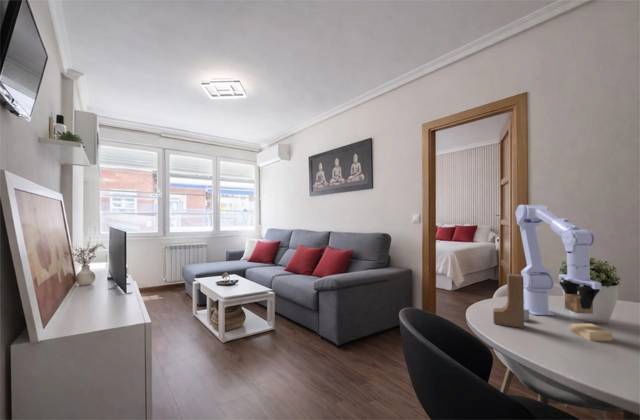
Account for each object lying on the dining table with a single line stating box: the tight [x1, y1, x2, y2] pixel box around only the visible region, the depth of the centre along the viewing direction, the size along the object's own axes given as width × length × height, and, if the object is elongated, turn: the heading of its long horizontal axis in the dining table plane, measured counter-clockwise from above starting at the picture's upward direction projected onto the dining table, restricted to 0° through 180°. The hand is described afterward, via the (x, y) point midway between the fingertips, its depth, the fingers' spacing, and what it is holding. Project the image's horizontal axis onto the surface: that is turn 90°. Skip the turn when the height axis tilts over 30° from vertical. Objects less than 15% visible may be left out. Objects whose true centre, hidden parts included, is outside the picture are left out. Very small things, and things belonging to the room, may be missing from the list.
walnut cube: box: [564, 293, 594, 315], centre depth 97 cm, size 5×5×5 cm
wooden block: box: [492, 273, 525, 329], centre depth 104 cm, size 9×4×18 cm, turn 61°
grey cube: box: [524, 308, 530, 322], centre depth 110 cm, size 4×4×4 cm
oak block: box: [570, 323, 613, 342], centre depth 94 cm, size 7×7×3 cm
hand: (579, 305), depth 97 cm, fingers closed on walnut cube, 5 cm apart
